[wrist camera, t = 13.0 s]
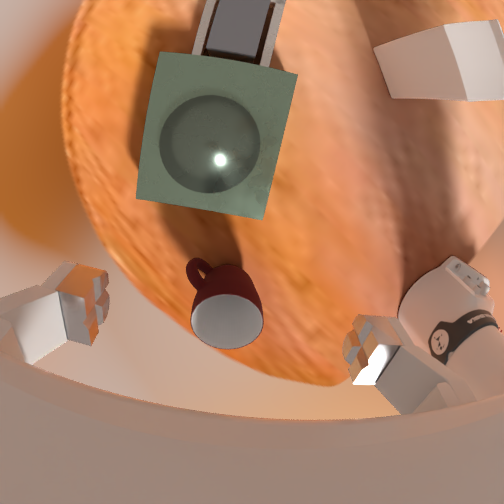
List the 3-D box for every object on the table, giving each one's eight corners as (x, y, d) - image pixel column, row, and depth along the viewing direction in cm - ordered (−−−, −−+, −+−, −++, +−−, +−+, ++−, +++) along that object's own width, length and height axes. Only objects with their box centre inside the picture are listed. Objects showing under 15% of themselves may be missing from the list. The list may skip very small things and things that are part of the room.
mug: (172, 269, 40) (157, 314, 31) (208, 227, 37) (200, 265, 29) (232, 310, 43) (232, 359, 34) (269, 273, 41) (279, 319, 32)
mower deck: (306, 9, 26) (318, -7, 20) (259, 206, 37) (263, 222, 31) (190, -11, 24) (182, -30, 18) (148, 187, 35) (133, 200, 29)
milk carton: (390, 98, 31) (500, 105, 14) (371, 48, 28) (472, 17, 11) (430, 89, 30) (538, 96, 13) (413, 41, 27) (516, 21, 10)
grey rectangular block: (266, 14, 26) (270, -1, 22) (252, 64, 29) (255, 55, 24) (224, 6, 25) (222, -9, 21) (210, 56, 28) (206, 47, 24)
